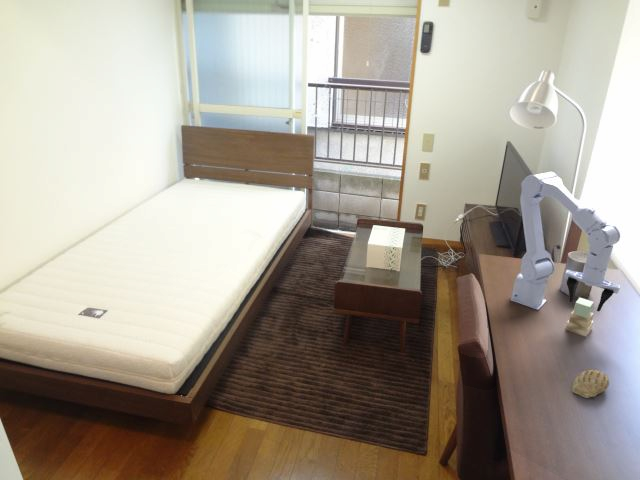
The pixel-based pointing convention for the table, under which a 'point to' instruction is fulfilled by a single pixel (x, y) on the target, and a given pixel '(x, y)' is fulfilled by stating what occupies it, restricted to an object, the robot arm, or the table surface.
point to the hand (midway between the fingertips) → (585, 305)
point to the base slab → (579, 328)
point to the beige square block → (581, 319)
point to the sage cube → (583, 307)
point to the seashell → (590, 383)
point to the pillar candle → (577, 265)
